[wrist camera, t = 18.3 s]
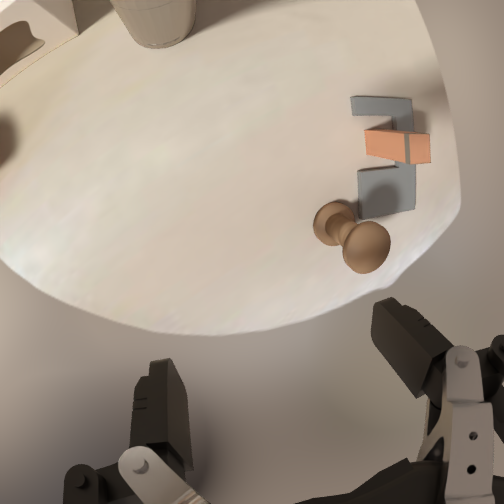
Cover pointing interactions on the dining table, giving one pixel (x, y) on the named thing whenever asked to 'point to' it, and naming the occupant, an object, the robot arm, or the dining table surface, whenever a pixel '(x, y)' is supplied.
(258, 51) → the dining table surface
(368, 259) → the bobbin
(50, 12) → the gable box
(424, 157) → the orange tall block
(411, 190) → the notched board
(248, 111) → the dining table surface
